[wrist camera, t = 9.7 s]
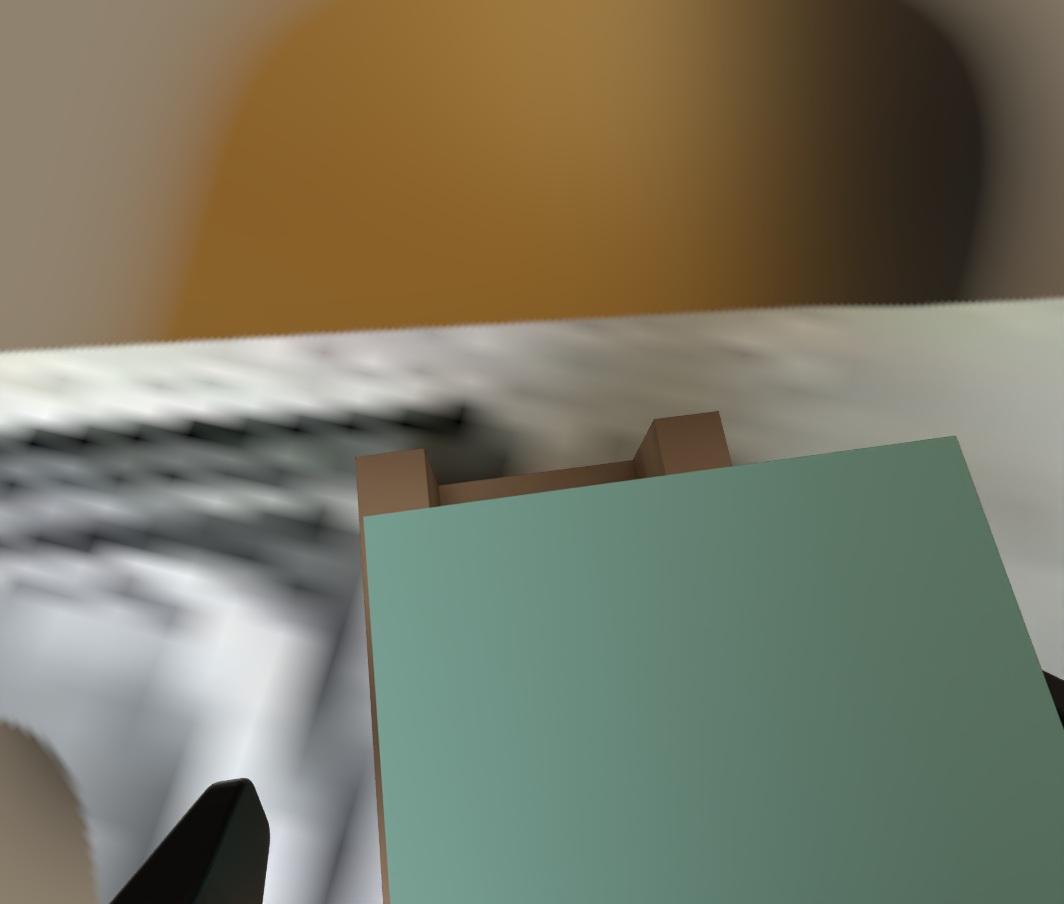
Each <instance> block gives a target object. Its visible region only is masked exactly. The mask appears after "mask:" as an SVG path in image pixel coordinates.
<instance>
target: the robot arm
mask: <svg viewBox="0 0 1064 904" xmlns="http://www.w3.org/2000/svg"><path fill="white" fill-rule="evenodd" d="M1042 672H1043V674H1044V677H1045V680H1046V683H1047V685H1048V688H1049V691H1050V694H1051V696H1052V699H1053V702H1054V704H1055V707H1056V710H1057V713H1058V715H1059V718H1060V721H1061V724H1062V726H1063V729H1064V680H1062V679H1060V678H1058V677H1056V676H1054V675H1052V674H1050V673H1047V672H1045V671H1043V670H1042ZM269 845H270V829H269V824H268V820H267V818H266V815H265V812H264V810H263V807H262V805H261V802H260V800H259V797H258V795H257V792H256V789H255V787H254V785H253V783H252V782H251V781H250V780H249V779H247V778H240V779H233V780H227V781H220V782H216V783H214V784H212V785H211V786H210V787H208V788H207V789H206V790H205V792H204V793H203V794H202V795H201V796H200V797H199V799H198V800H197V801H196V802H195V803H194V804H193V806H192V807H191V808H190V809H189V810H188V812H187V813H186V814H185V815H184V816H183V817H182V819H181V820H180V821H179V822H178V823H177V824H176V826H175V827H174V828H173V829H172V830H171V832H170V833H169V834H168V835H167V836H166V837H165V839H164V840H163V841H162V842H161V843H160V845H159V846H158V847H157V848H156V849H155V850H154V852H153V853H152V854H151V855H150V856H149V857H148V859H147V860H146V861H145V862H144V863H143V865H142V866H141V867H140V868H139V869H138V870H137V872H136V873H135V874H134V875H133V876H132V878H131V879H130V880H129V881H128V882H127V883H126V885H125V886H124V887H123V888H122V889H121V890H120V892H119V893H118V894H117V895H116V896H115V898H114V899H113V900H112V901H111V902H110V903H109V904H262V903H263V895H264V887H265V878H266V870H267V862H268V854H269Z"/></svg>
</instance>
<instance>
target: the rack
mask: <svg viewBox="0 0 1064 904" xmlns="http://www.w3.org/2000/svg"><path fill="white" fill-rule="evenodd" d="M355 459H356V475H357V491H358V507H359V523H360V539H361V555H362V571H363V587H364V603H365V619H366V635H367V651H368V667H369V683H370V699H371V715H372V731H373V747H374V763H375V780H376V796H377V812H378V828H379V844H380V860H381V876H382V892H383V904H390V892H389V878H388V864H387V849H386V835H385V821H384V806H383V792H382V778H381V763H380V749H379V735H378V720H377V706H376V691H375V677H374V663H373V648H372V634H371V620H370V605H369V591H368V577H367V562H366V548H365V534H364V519H363V517H366V516H373V515H380V514H388V513H395V512H402V511H410V510H417V509H424V508H432V507H439V506H446V505H453V504H461V503H468V502H475V501H483V500H490V499H497V498H505V497H512V496H519V495H527V494H534V493H541V492H548V491H556V490H563V489H570V488H578V487H585V486H592V485H600V484H607V483H614V482H622V481H629V480H636V479H643V478H651V477H658V476H665V475H673V474H680V473H687V472H695V471H702V470H709V469H717V468H724V467H731V466H732V463H731V459H730V455H729V451H728V447H727V443H726V439H725V435H724V431H723V427H722V423H721V419H720V415H719V411H716V412H708V413H700V414H692V415H684V416H676V417H668V418H661V419H654V420H653V422H652V424H651V426H650V428H649V430H648V432H647V434H646V436H645V438H644V440H643V442H642V444H641V445H640V447H639V449H638V451H637V453H636V455H635V457H634V459H633V460H632V461H624V462H617V463H609V464H601V465H594V466H586V467H578V468H571V469H563V470H555V471H547V472H540V473H532V474H524V475H517V476H509V477H501V478H494V479H486V480H478V481H470V482H463V483H455V484H447V485H440V486H439V485H438V483H437V480H436V478H435V475H434V473H433V470H432V468H431V465H430V463H429V460H428V458H427V455H426V453H425V450H424V448H423V449H415V450H407V451H399V452H391V453H383V454H375V455H367V456H360V457H355Z"/></svg>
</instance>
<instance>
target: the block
mask: <svg viewBox="0 0 1064 904" xmlns="http://www.w3.org/2000/svg"><path fill="white" fill-rule="evenodd" d="M363 519H364V534H365V548H366V562H367V577H368V591H369V605H370V620H371V634H372V648H373V663H374V677H375V691H376V706H377V720H378V735H379V749H380V763H381V778H382V792H383V806H384V821H385V835H386V849H387V864H388V878H389V892H390V904H1064V729H1063V726H1062V724H1061V721H1060V718H1059V715H1058V713H1057V710H1056V707H1055V704H1054V702H1053V699H1052V696H1051V694H1050V691H1049V688H1048V685H1047V683H1046V680H1045V677H1044V674H1043V672H1042V669H1041V666H1040V664H1039V661H1038V658H1037V655H1036V653H1035V650H1034V647H1033V644H1032V642H1031V639H1030V636H1029V634H1028V631H1027V628H1026V625H1025V623H1024V620H1023V617H1022V614H1021V612H1020V609H1019V606H1018V604H1017V601H1016V598H1015V595H1014V593H1013V590H1012V587H1011V584H1010V582H1009V579H1008V576H1007V574H1006V571H1005V568H1004V565H1003V563H1002V560H1001V557H1000V554H999V552H998V549H997V546H996V544H995V541H994V538H993V535H992V533H991V530H990V527H989V524H988V522H987V519H986V516H985V514H984V511H983V508H982V505H981V503H980V500H979V497H978V494H977V492H976V489H975V486H974V484H973V481H972V478H971V475H970V473H969V470H968V467H967V464H966V462H965V459H964V456H963V454H962V451H961V448H960V445H959V443H958V440H957V437H956V436H950V437H943V438H936V439H928V440H921V441H914V442H907V443H899V444H892V445H885V446H877V447H870V448H863V449H855V450H848V451H841V452H833V453H826V454H819V455H812V456H804V457H797V458H790V459H782V460H775V461H768V462H760V463H753V464H746V465H738V466H731V467H724V468H717V469H709V470H702V471H695V472H687V473H680V474H673V475H665V476H658V477H651V478H643V479H636V480H629V481H622V482H614V483H607V484H600V485H592V486H585V487H578V488H570V489H563V490H556V491H548V492H541V493H534V494H527V495H519V496H512V497H505V498H497V499H490V500H483V501H475V502H468V503H461V504H453V505H446V506H439V507H432V508H424V509H417V510H410V511H402V512H395V513H388V514H380V515H373V516H366V517H363Z"/></svg>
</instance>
